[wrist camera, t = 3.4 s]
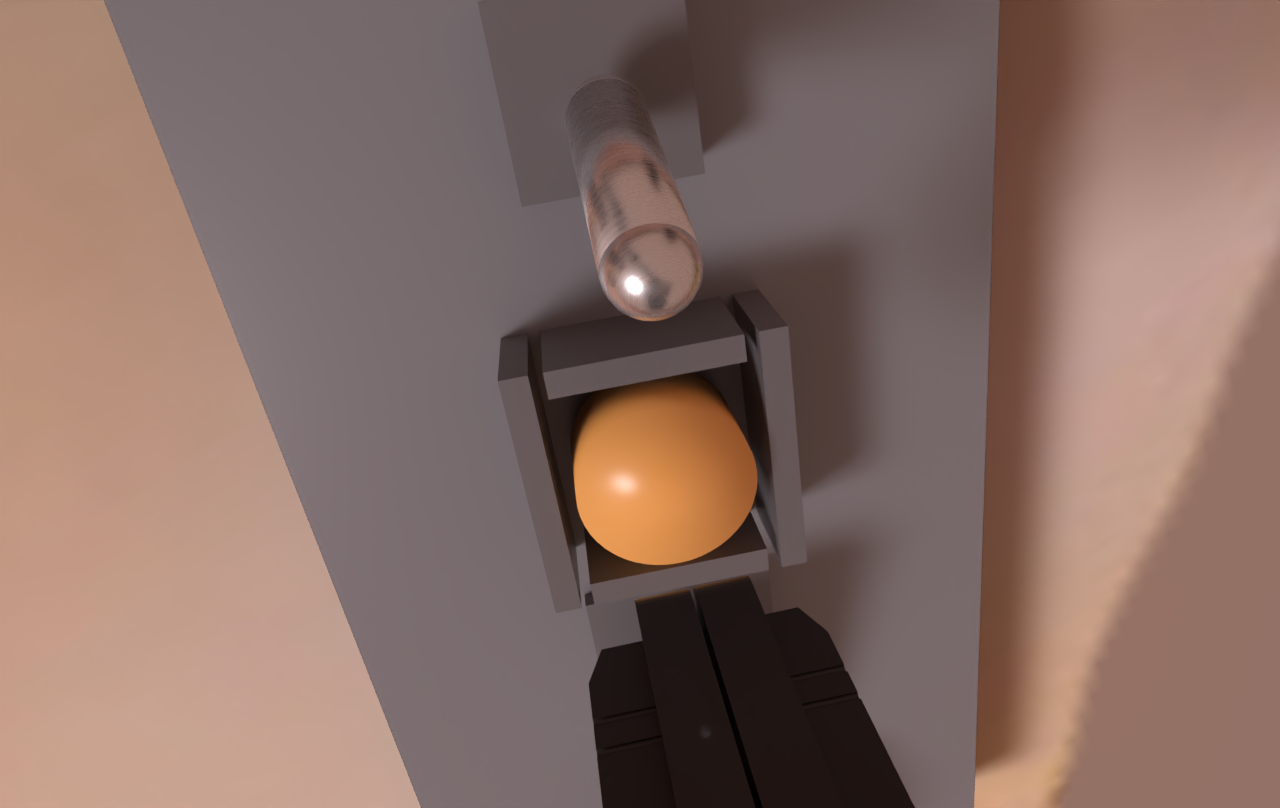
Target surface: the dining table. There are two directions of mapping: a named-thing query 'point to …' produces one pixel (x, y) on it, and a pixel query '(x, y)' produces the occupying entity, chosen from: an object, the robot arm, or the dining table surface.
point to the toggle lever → (631, 202)
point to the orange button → (661, 469)
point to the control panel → (602, 335)
